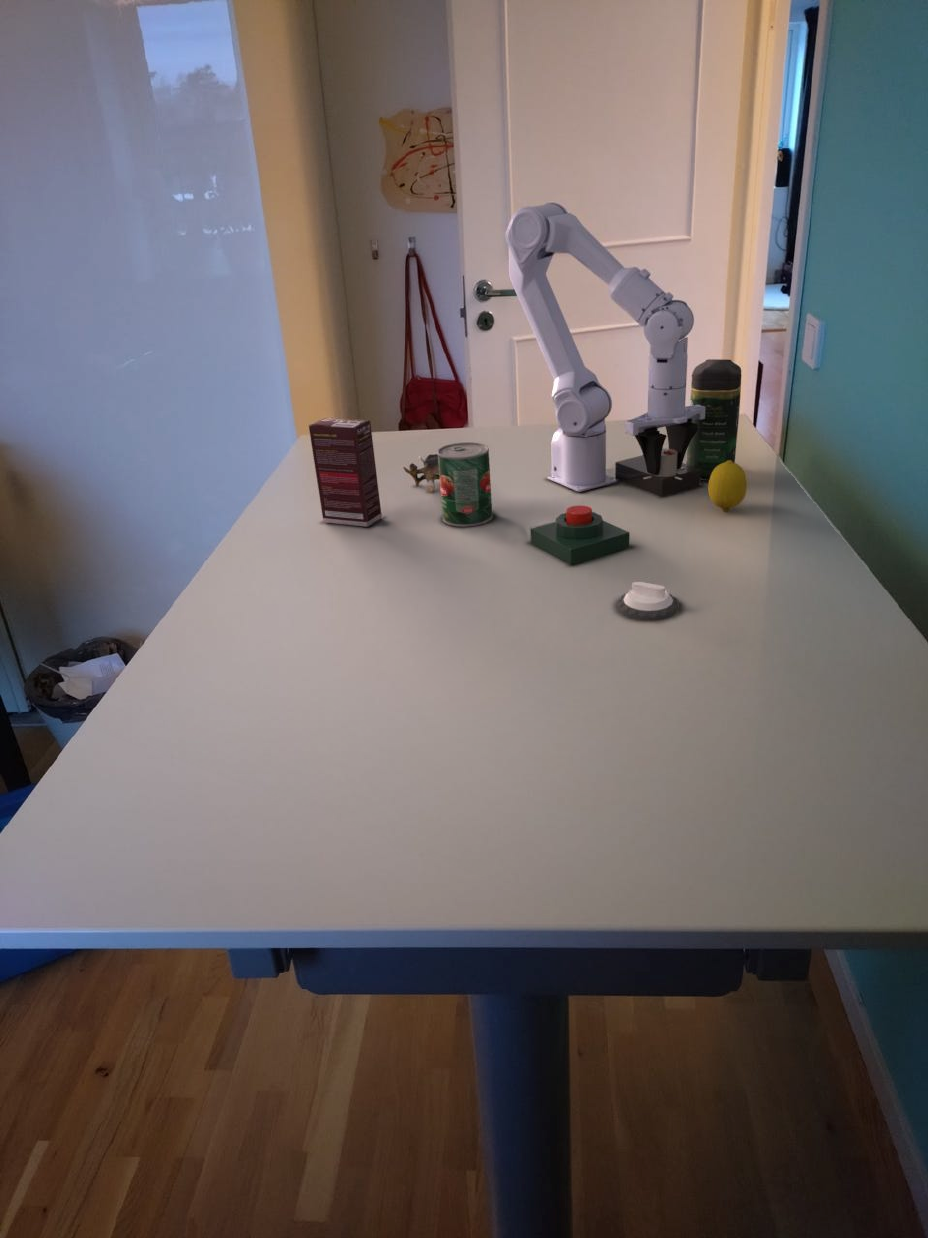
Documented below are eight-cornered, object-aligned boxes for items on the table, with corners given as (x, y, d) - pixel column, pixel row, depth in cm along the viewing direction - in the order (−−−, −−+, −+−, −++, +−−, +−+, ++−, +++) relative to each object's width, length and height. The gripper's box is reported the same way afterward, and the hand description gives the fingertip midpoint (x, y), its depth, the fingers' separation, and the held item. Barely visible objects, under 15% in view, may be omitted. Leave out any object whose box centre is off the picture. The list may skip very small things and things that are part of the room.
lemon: (746, 518, 133) (750, 466, 129) (707, 517, 134) (710, 466, 130) (743, 505, 137) (747, 454, 134) (706, 505, 139) (709, 454, 135)
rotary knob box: (605, 481, 152) (605, 463, 150) (651, 469, 156) (652, 451, 154) (660, 503, 141) (661, 484, 139) (709, 489, 145) (710, 470, 143)
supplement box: (383, 517, 143) (372, 419, 136) (368, 528, 140) (355, 427, 132) (337, 512, 147) (324, 416, 140) (321, 522, 143) (306, 424, 136)
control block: (530, 543, 130) (529, 517, 128) (586, 527, 134) (586, 501, 132) (571, 565, 122) (570, 537, 120) (629, 547, 126) (629, 520, 124)
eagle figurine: (403, 490, 151) (453, 482, 148) (401, 449, 152) (451, 440, 149) (421, 500, 158) (469, 493, 155) (419, 461, 159) (467, 453, 156)
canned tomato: (502, 518, 139) (499, 449, 134) (458, 530, 136) (453, 460, 131) (475, 505, 145) (471, 439, 141) (433, 516, 142) (427, 449, 137)
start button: (561, 520, 127) (561, 509, 126) (581, 515, 128) (581, 503, 127) (576, 528, 124) (576, 516, 123) (597, 522, 125) (597, 510, 125)
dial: (646, 472, 145) (646, 449, 143) (665, 467, 147) (666, 445, 145) (662, 478, 142) (663, 455, 140) (682, 473, 143) (683, 450, 142)
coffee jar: (733, 482, 147) (742, 367, 138) (684, 481, 149) (689, 368, 141) (735, 464, 155) (743, 355, 147) (688, 463, 157) (694, 355, 149)
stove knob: (665, 625, 105) (666, 603, 103) (607, 613, 108) (608, 592, 107) (687, 600, 110) (688, 578, 109) (631, 590, 114) (631, 569, 112)
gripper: (647, 397, 132) (644, 486, 138) (721, 381, 138) (715, 467, 144) (617, 390, 137) (616, 475, 143) (689, 374, 143) (685, 457, 149)
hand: (664, 470), depth 144 cm, fingers closed on dial, 4 cm apart
